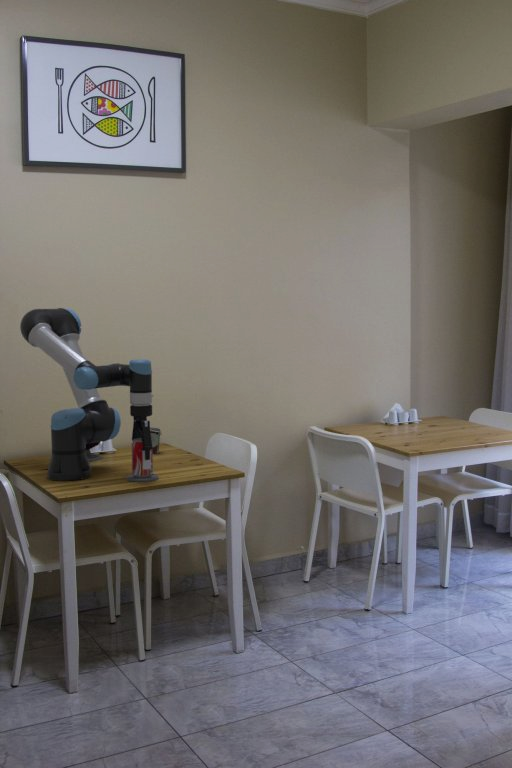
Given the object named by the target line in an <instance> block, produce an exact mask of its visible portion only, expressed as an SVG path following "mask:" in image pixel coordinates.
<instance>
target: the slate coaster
mask: <svg viewBox="0 0 512 768" xmlns="http://www.w3.org/2000/svg"><path fill="white" fill-rule="evenodd" d="M157 480H159V475H158V474H156V473H153V474H152V476H151V477H148V478H136V477H134V476H133V475H132V474H128V475H127V476H126V481H128V482H131V483H132V482H133V483H149V482H155V481H157Z"/></svg>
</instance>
